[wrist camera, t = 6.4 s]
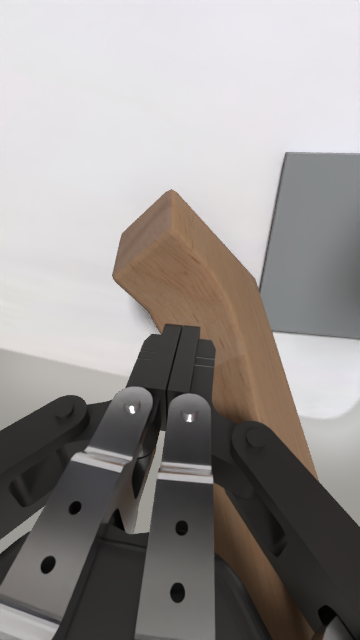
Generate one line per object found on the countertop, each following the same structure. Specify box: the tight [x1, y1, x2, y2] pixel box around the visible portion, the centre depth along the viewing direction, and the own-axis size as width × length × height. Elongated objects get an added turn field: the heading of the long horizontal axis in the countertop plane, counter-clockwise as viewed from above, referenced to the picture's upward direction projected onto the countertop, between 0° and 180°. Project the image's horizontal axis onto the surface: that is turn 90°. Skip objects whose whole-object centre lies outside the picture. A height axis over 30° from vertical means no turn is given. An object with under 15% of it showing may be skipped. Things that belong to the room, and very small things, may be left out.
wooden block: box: [112, 189, 319, 640], centre depth 13 cm, size 9×4×18 cm, turn 41°
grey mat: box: [259, 152, 360, 338], centre depth 19 cm, size 8×12×1 cm
